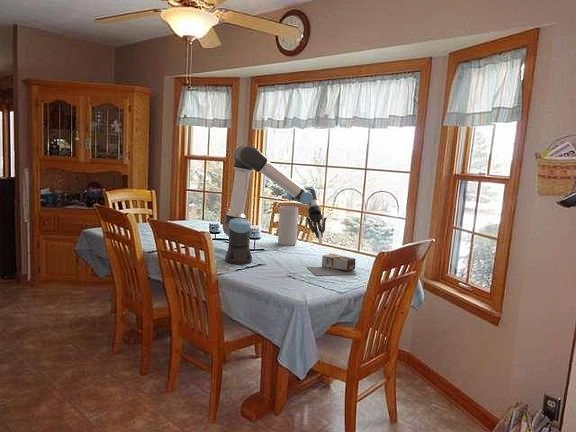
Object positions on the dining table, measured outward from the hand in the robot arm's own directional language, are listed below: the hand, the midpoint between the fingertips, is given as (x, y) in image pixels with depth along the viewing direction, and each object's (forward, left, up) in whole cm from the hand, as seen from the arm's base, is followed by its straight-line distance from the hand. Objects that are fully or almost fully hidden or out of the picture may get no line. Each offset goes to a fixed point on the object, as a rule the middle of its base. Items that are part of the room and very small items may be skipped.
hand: (320, 242), depth 254 cm
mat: (0, -18, -12) cm, 22 cm away
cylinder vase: (-6, +49, -12) cm, 50 cm away
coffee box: (+1, -8, -8) cm, 11 cm away
